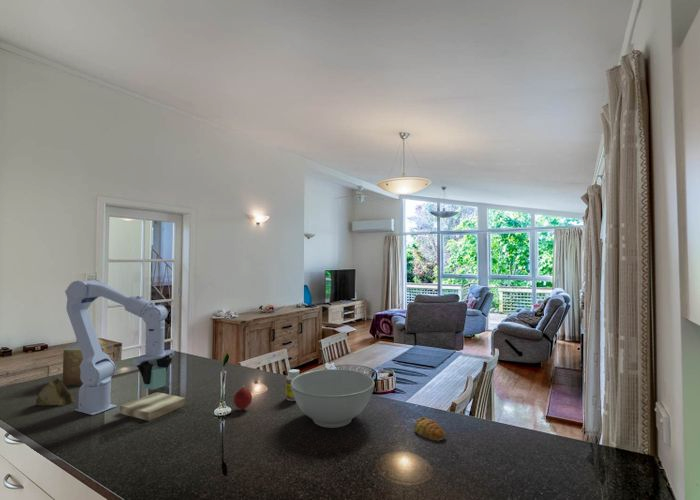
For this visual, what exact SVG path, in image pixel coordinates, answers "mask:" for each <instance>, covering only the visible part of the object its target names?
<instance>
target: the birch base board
mask: <svg viewBox="0 0 700 500" xmlns="http://www.w3.org/2000/svg"><path fill="white" fill-rule="evenodd" d="M186 398H187V397H183V396H178V395H173V394H167V393H163V392H158V391H157V392H153V393H151V394H149V395H146V396H142V397H140V398H137V399H135V400H132V401H129V402H126V403H123V404H121V405H120V406H119V414H120V415H125V416H129V417H132V418H136V419H141V420H144V421H148V422H150V421H152V420H155V419H158V418H159V417H162V416H163V415H165V414H168V413H170V412H173V411H176V410H177V409H180V408H182V407H185V406H186V401H187V400H186Z"/></svg>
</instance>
